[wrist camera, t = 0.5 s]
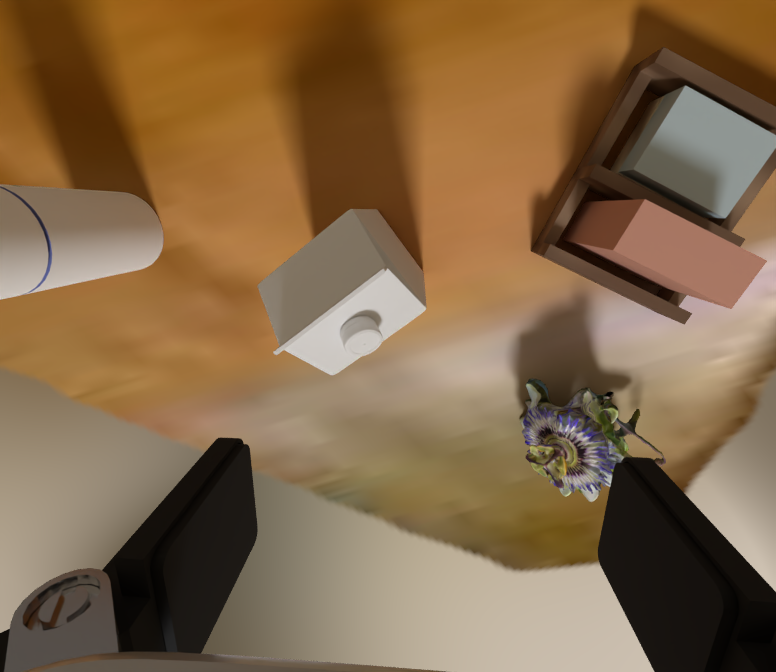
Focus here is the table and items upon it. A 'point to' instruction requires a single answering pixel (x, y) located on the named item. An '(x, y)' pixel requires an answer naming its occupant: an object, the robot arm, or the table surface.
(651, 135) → the offcut upper
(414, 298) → the milk carton
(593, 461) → the passion flower
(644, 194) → the rack
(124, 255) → the cylindrical container
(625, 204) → the pink rectangular block
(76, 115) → the table surface
